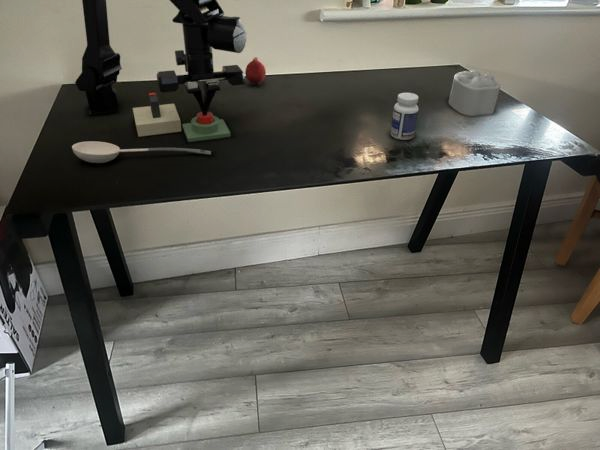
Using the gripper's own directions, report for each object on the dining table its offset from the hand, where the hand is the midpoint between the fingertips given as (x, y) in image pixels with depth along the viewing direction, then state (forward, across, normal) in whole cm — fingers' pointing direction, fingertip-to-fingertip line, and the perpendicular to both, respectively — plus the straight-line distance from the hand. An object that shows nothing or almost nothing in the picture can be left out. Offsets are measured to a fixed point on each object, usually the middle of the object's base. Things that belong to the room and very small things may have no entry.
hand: (204, 114), depth 114 cm
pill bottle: (+5, -44, +15) cm, 47 cm away
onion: (+5, -20, -26) cm, 33 cm away
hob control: (+5, +10, -7) cm, 13 cm away
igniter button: (+2, 0, 0) cm, 2 cm away
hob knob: (+2, +11, -7) cm, 13 cm away
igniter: (+5, 0, 0) cm, 5 cm away
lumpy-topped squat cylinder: (+5, -72, +4) cm, 72 cm away
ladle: (+5, +15, +9) cm, 18 cm away
